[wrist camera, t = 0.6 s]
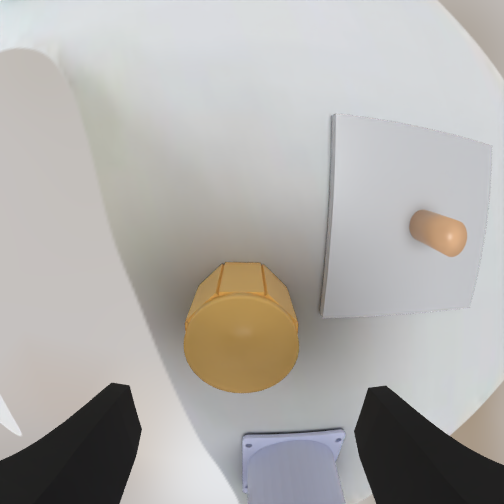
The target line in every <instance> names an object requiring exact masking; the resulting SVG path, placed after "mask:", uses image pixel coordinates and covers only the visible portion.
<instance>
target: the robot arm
mask: <svg viewBox="0 0 504 504" xmlns="http://www.w3.org/2000/svg"><path fill="white" fill-rule="evenodd" d="M141 430H142V428H141V425H140V422H139V419H138V415H137V412H136V408H135V405H134V401H133V397H132V393H131V390H130V386H129V385H123V384H117V383H111V384H110V385H108V386H107V387H106V388H105V389H103V390H102V391H101V392H100V393H99V394H98V395H96V396H95V397H94V398H93V399H92V400H90V401H89V402H88V403H87V404H86V405H85V406H83V407H82V408H81V409H80V410H78V411H77V412H76V413H75V414H74V415H73V416H71V417H70V418H69V419H67V420H66V421H65V422H64V423H62V424H61V425H59V426H58V427H57V428H55V429H54V430H52V431H51V432H50V433H49V434H47V435H45V436H44V437H43V438H41V439H40V440H38V441H37V442H35V443H33V444H32V445H30V446H28V447H27V448H25V449H23V450H21V451H20V452H18V453H16V454H14V455H12V456H10V457H8V458H5V459H3V460H1V461H0V504H119V503H120V500H121V497H122V495H123V492H124V489H125V486H126V483H127V481H128V478H129V475H130V472H131V469H132V466H133V464H134V461H135V458H136V454H137V450H138V445H139V440H140V435H141ZM354 433H355V438H356V443H357V448H358V452H359V457H360V460H361V463H362V465H363V468H364V471H365V474H366V476H367V479H368V482H369V485H370V487H371V490H372V493H373V496H374V498H375V501H376V504H504V465H502V464H499V463H497V462H495V461H492V460H490V459H488V458H486V457H484V456H482V455H480V454H478V453H476V452H474V451H473V450H471V449H469V448H467V447H466V446H464V445H462V444H461V443H459V442H458V441H456V440H455V439H453V438H452V437H450V436H449V435H447V434H446V433H444V432H443V431H442V430H440V429H439V428H438V427H436V426H435V425H434V424H432V423H431V422H430V421H428V420H427V419H426V418H425V417H423V416H422V415H421V414H420V413H419V412H417V411H416V410H415V409H414V408H412V407H411V406H410V405H409V404H408V403H406V402H405V401H404V400H403V399H402V398H400V397H399V396H398V395H397V394H396V393H394V392H393V391H392V390H391V389H389V388H388V387H387V386H380V387H372V388H368V391H367V394H366V397H365V400H364V403H363V407H362V410H361V413H360V416H359V419H358V422H357V424H356V427H355V430H354ZM344 438H345V431H344V430H341V429H339V430H330V431H320V432H309V433H293V434H268V435H245V436H244V437H243V438H242V469H243V492H244V493H247V494H248V504H346V502H345V498H344V494H343V490H342V487H341V483H340V479H339V475H338V471H337V467H336V464H335V463H336V460H337V458H338V455H339V452H340V450H341V447H342V444H343V441H344Z"/></svg>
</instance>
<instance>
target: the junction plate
mask: <svg viewBox="0 0 504 504" xmlns="http://www.w3.org/2000/svg"><path fill="white" fill-rule="evenodd" d="M491 171H492V145H489V144H486V143H483V142H479V141H476V140H472V139H469V138H465V137H461V136H457V135H454V134H450V133H446V132H441V131H437V130H433V129H428V128H424V127H419V126H414V125H409V124H404V123H399V122H393V121H387V120H381V119H375V118H368V117H361V116H354V115H346V114H337V113H336V114H334V115H332V140H331V175H330V197H329V215H328V230H327V243H326V256H325V267H324V277H323V287H322V297H321V306H320V314H321V316H322V318H348V317H369V316H386V315H401V314H414V313H426V312H437V311H447V310H457V309H466V308H470V305H471V301H472V297H473V293H474V289H475V285H476V281H477V276H478V272H479V267H480V262H481V257H482V251H483V245H484V239H485V233H486V226H487V218H488V210H489V200H490V188H491Z"/></svg>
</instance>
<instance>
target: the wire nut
mask: <svg viewBox="0 0 504 504" xmlns="http://www.w3.org/2000/svg"><path fill="white" fill-rule="evenodd" d="M185 330H186V334H185V337H184V352H185V357H186V359H187V362H188V364H189V366H190V367H191V369H192V370H193V372H194V373H195V374H196V375H197V376H198V377H199V378H200V379H202V380H203V381H204V382H206V383H207V384H209V385H211V386H213V387H215V388H217V389H220V390H223V391H227V392H233V393H252V392H257V391H261V390H264V389H267V388H269V387H271V386H273V385H275V384H277V383H278V382H280V381H281V380H282V379H284V378H285V377H286V376H287V375H288V374H289V372H290V371H291V370H292V368H293V366H294V365H295V363H296V360H297V357H298V353H299V341H298V336H297V333H298V322H297V318H296V315H295V312H294V309H293V305H292V302H291V299H290V296H289V293H288V289H287V287H286V286H285V285H284V284H283V283H282V282H281V281H280V280H279V279H278V278H277V277H276V276H275V275H274V274H273V273H272V272H271V271H270V270H269V269H268V268H267V267H266V266H265V265H264V264H262V265H261V263H241V262H225V265H224V264H223V263H222V264H221V265H220V266H219V267H218V268H217V269H216V270H215V271H214V272H213V273H212V274H211V275H210V276H209V277H207V278H206V279H205V280H204V281H203V282H202V283H201V284H200V285H199V286H198V289H197V292H196V294H195V297H194V300H193V302H192V305H191V308H190V310H189V313H188V316H187V318H186V321H185Z"/></svg>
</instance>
